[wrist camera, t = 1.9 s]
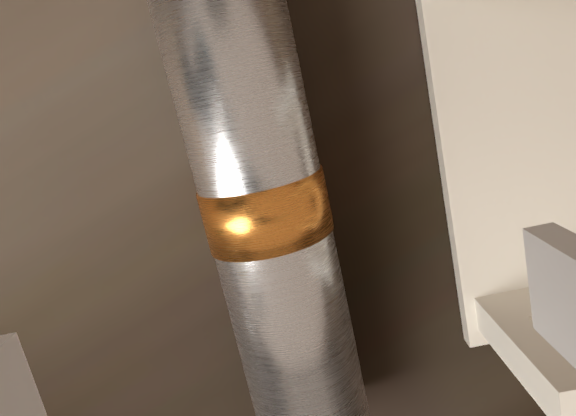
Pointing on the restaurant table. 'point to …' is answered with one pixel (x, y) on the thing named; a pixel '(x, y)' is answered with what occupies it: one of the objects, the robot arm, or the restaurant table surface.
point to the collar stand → (504, 165)
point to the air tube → (263, 201)
